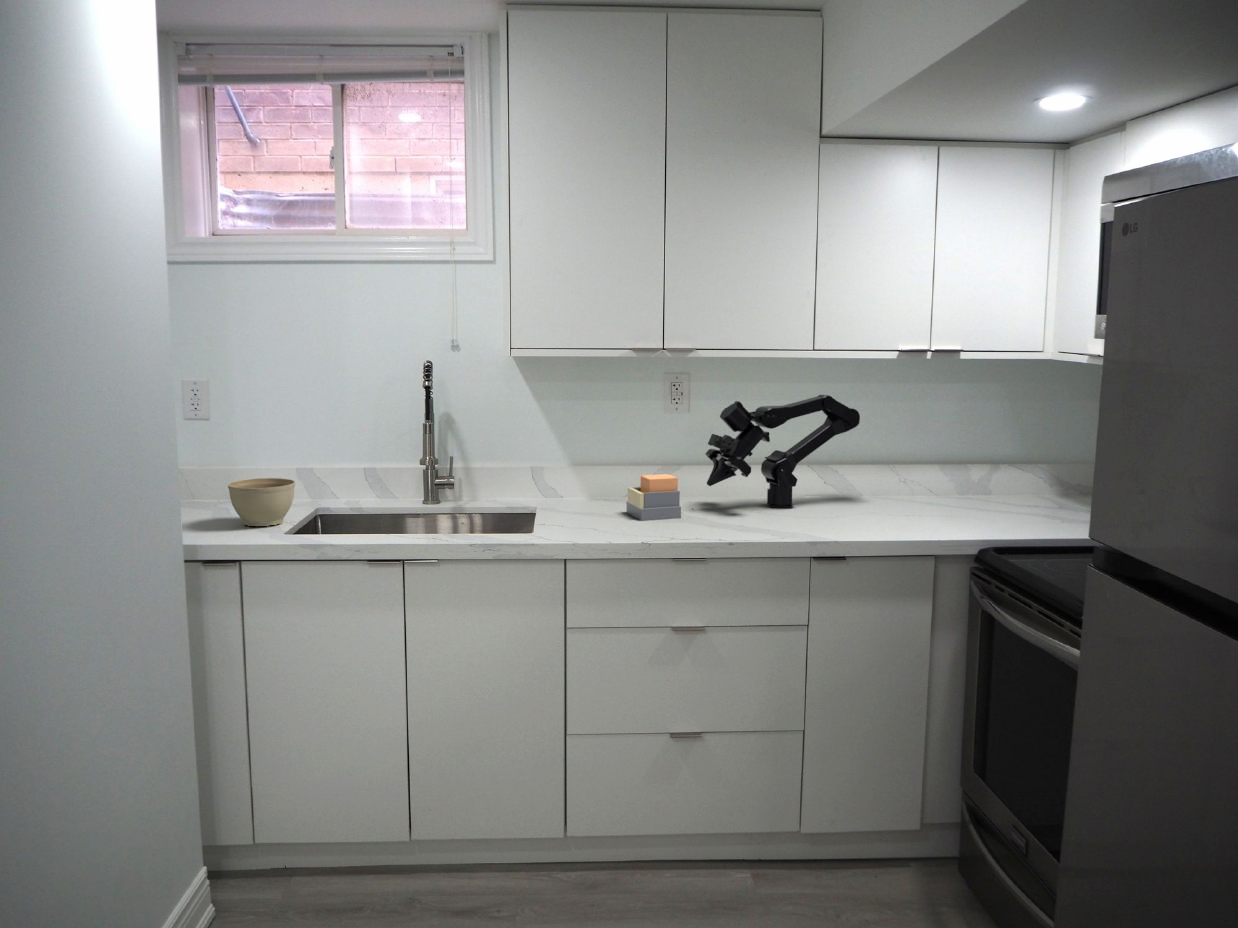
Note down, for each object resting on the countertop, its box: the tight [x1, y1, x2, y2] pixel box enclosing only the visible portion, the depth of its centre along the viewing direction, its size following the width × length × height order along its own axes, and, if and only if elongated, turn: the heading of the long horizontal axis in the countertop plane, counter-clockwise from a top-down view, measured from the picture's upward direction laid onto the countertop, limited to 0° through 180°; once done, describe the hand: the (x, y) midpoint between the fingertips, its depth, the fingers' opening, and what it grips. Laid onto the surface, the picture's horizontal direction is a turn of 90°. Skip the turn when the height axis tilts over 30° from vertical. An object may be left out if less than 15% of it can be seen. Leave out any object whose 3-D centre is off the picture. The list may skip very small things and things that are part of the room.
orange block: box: [640, 473, 679, 493], centre depth 251 cm, size 8×7×7 cm
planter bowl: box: [227, 477, 296, 527], centre depth 240 cm, size 16×16×11 cm
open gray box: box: [626, 486, 682, 522], centre depth 251 cm, size 11×12×7 cm
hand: (708, 484), depth 256 cm, fingers closed
